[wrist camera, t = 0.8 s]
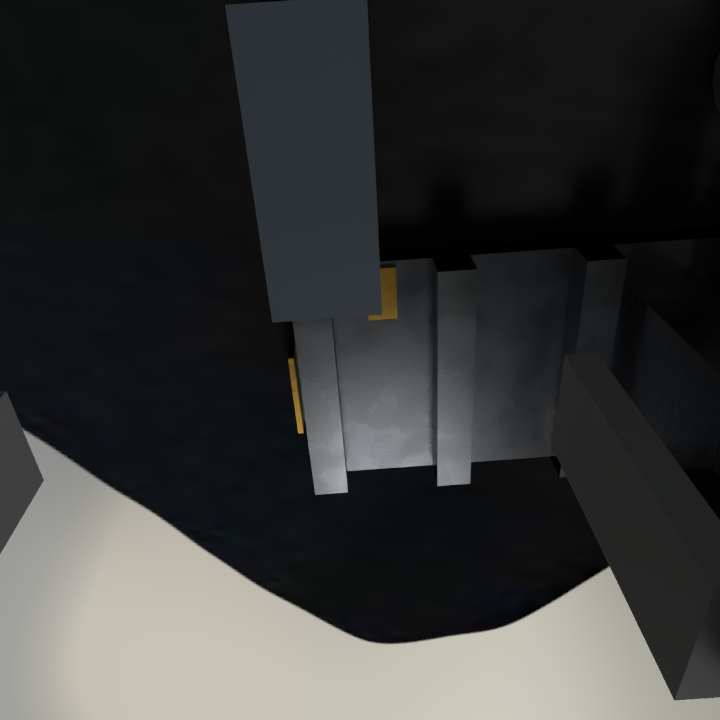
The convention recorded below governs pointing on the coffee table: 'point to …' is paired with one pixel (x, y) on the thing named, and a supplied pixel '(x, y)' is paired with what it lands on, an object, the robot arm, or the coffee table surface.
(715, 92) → the coffee cup
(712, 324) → the rack
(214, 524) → the coffee table surface
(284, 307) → the gray rectangular block
